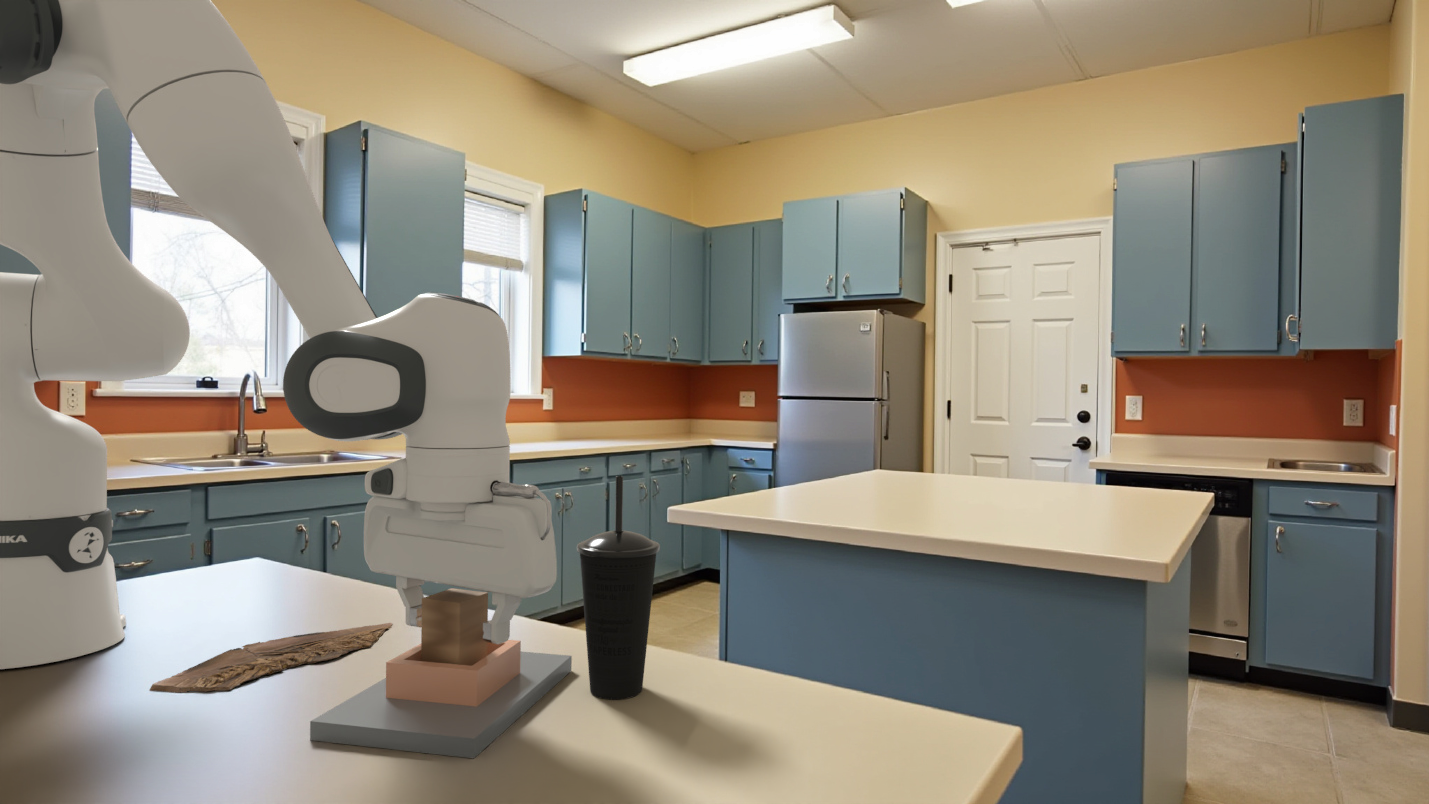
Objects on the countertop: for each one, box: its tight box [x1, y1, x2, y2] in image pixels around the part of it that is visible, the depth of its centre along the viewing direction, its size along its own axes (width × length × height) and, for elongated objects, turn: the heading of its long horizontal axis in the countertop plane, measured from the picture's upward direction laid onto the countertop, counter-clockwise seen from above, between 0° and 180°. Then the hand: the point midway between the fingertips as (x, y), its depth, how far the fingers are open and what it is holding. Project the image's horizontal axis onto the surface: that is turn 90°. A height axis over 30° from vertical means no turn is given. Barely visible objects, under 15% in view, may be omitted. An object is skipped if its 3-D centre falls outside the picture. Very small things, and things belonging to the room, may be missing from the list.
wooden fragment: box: [149, 622, 394, 694], centre depth 85 cm, size 26×11×1 cm, turn 147°
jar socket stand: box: [309, 639, 573, 759], centre depth 73 cm, size 14×20×4 cm
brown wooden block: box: [420, 587, 489, 666], centre depth 73 cm, size 4×4×8 cm
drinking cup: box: [576, 475, 661, 700], centre depth 76 cm, size 8×8×20 cm
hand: (456, 633), depth 73 cm, fingers open, 8 cm apart
